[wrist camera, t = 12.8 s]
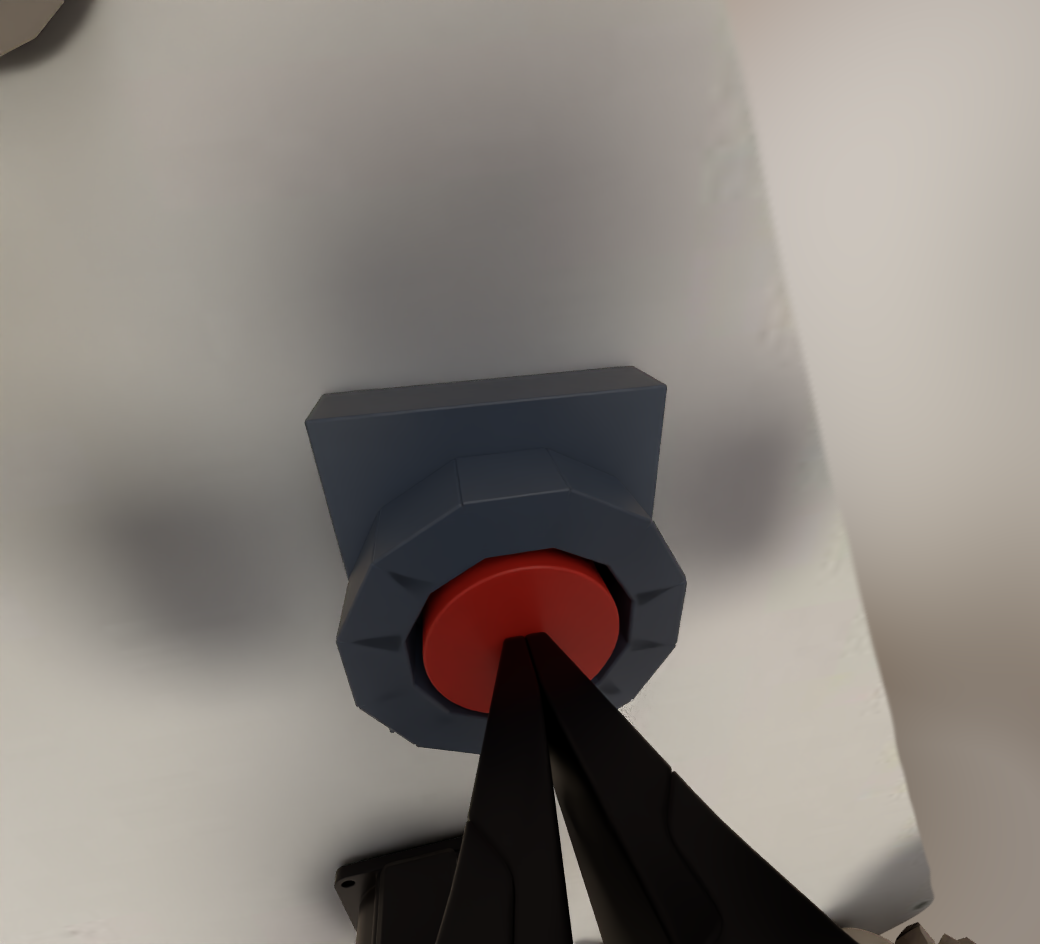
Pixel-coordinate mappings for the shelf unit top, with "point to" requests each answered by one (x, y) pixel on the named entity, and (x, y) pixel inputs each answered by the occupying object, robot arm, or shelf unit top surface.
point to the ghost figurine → (865, 936)
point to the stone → (925, 937)
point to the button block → (491, 520)
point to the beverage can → (23, 21)
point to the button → (515, 619)
